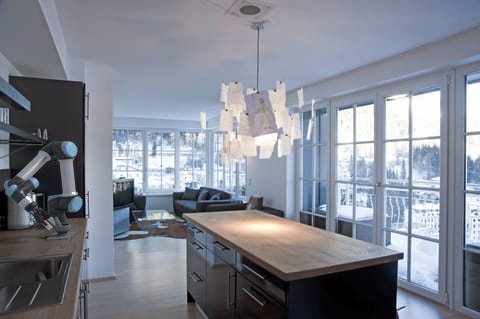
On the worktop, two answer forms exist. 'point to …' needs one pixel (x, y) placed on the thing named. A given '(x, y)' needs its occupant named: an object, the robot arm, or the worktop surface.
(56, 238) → the rubber mat
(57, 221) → the mortar and pestle
